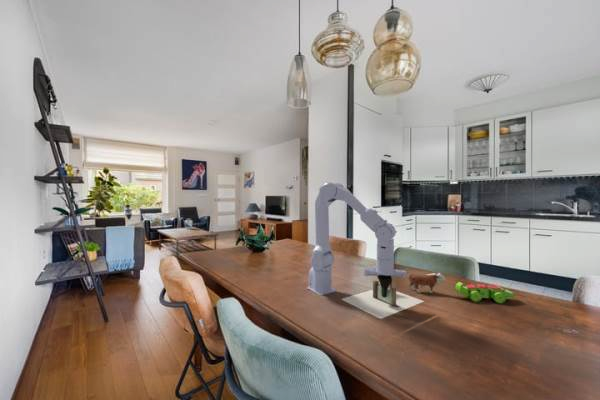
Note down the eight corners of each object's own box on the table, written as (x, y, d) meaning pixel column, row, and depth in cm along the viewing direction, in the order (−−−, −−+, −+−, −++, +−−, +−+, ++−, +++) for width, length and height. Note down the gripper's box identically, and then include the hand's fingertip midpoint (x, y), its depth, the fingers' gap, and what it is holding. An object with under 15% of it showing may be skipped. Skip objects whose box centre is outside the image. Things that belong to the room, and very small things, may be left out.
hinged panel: (377, 298, 93) (377, 283, 93) (379, 297, 94) (379, 282, 94) (394, 305, 87) (394, 289, 87) (396, 305, 87) (397, 289, 87)
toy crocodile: (507, 297, 96) (507, 281, 96) (519, 304, 90) (519, 287, 90) (451, 294, 99) (451, 279, 99) (459, 301, 93) (459, 284, 93)
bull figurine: (446, 295, 98) (447, 274, 97) (409, 293, 100) (410, 272, 100) (442, 291, 102) (443, 271, 102) (407, 289, 105) (407, 269, 104)
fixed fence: (376, 298, 93) (376, 282, 93) (371, 297, 95) (371, 281, 95) (393, 293, 99) (393, 278, 99) (389, 291, 101) (389, 276, 101)
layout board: (340, 300, 93) (341, 299, 93) (383, 287, 106) (383, 286, 106) (380, 320, 78) (380, 318, 78) (424, 302, 91) (424, 301, 91)
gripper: (401, 256, 93) (400, 292, 93) (362, 254, 93) (361, 291, 94) (409, 261, 86) (408, 300, 86) (366, 259, 86) (365, 299, 86)
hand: (384, 296), depth 89 cm, fingers closed, pressing on hinged panel
